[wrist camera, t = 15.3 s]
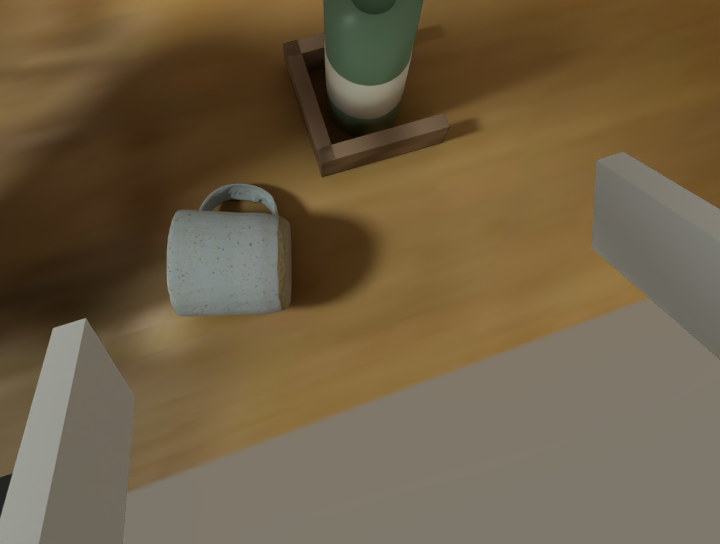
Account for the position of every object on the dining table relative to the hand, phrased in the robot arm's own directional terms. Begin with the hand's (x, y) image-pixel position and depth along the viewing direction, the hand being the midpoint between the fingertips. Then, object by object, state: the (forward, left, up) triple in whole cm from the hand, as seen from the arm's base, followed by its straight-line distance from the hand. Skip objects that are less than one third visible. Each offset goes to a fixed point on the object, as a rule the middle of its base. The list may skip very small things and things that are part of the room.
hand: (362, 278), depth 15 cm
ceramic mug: (-10, +5, -31) cm, 33 cm away
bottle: (-3, +20, -30) cm, 37 cm away
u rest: (-3, +20, -30) cm, 37 cm away
